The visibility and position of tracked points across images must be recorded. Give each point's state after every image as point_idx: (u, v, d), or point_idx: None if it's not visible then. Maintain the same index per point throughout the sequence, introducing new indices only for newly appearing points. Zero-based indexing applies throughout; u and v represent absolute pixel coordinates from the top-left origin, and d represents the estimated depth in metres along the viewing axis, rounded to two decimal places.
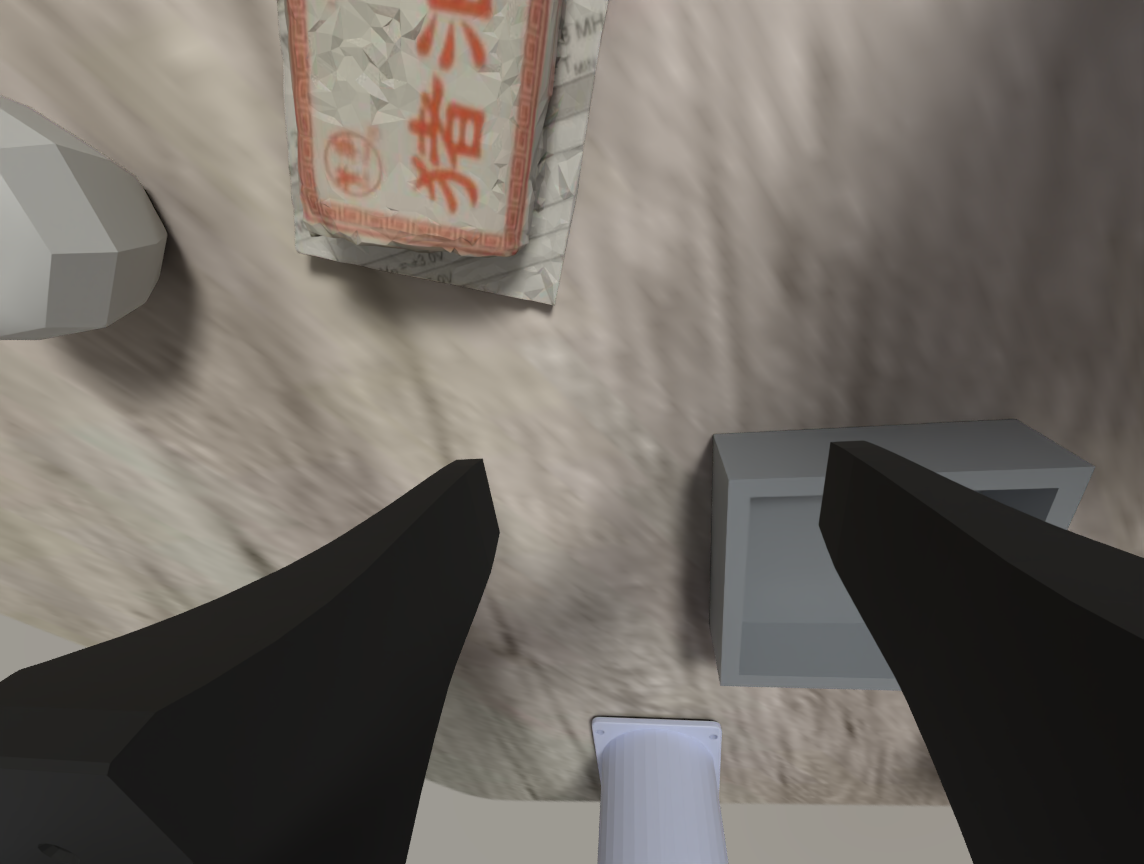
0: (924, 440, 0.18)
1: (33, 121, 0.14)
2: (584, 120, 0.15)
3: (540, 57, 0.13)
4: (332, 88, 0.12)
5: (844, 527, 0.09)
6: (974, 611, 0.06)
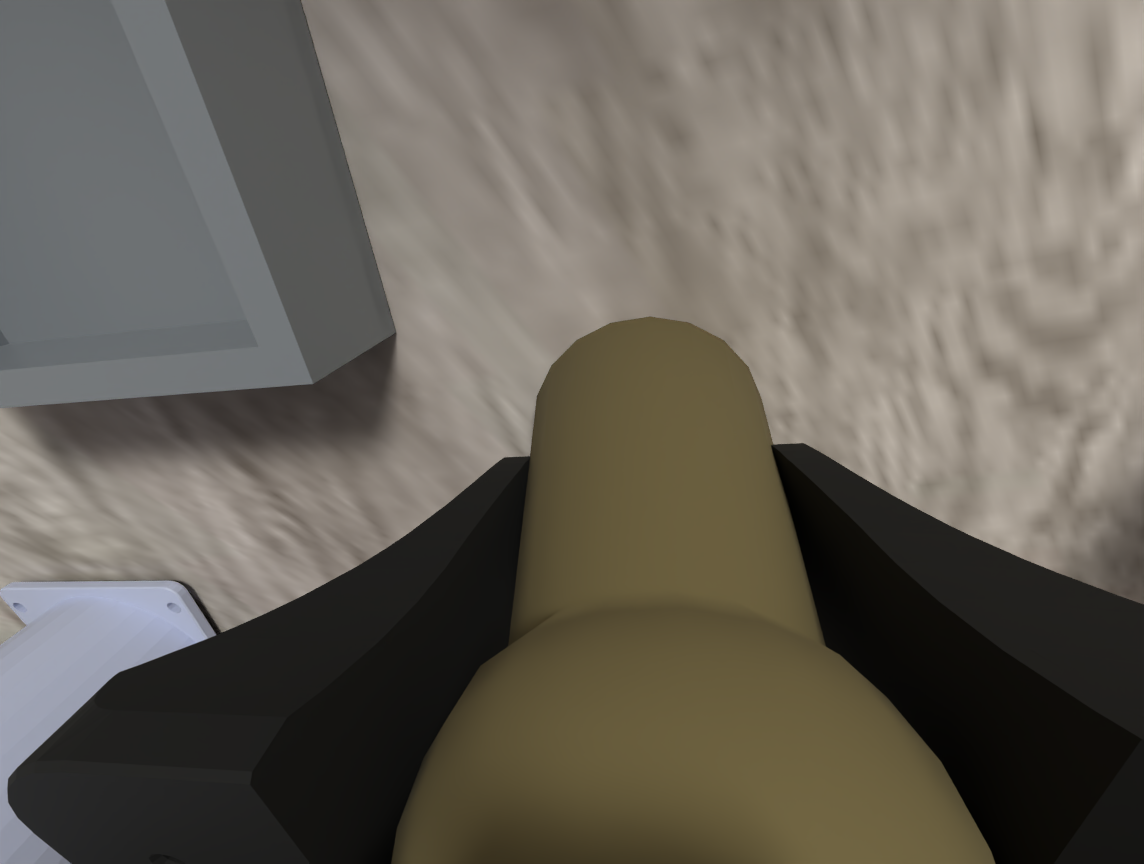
0: None
1: None
2: None
3: None
4: None
5: None
6: (874, 611, 0.06)
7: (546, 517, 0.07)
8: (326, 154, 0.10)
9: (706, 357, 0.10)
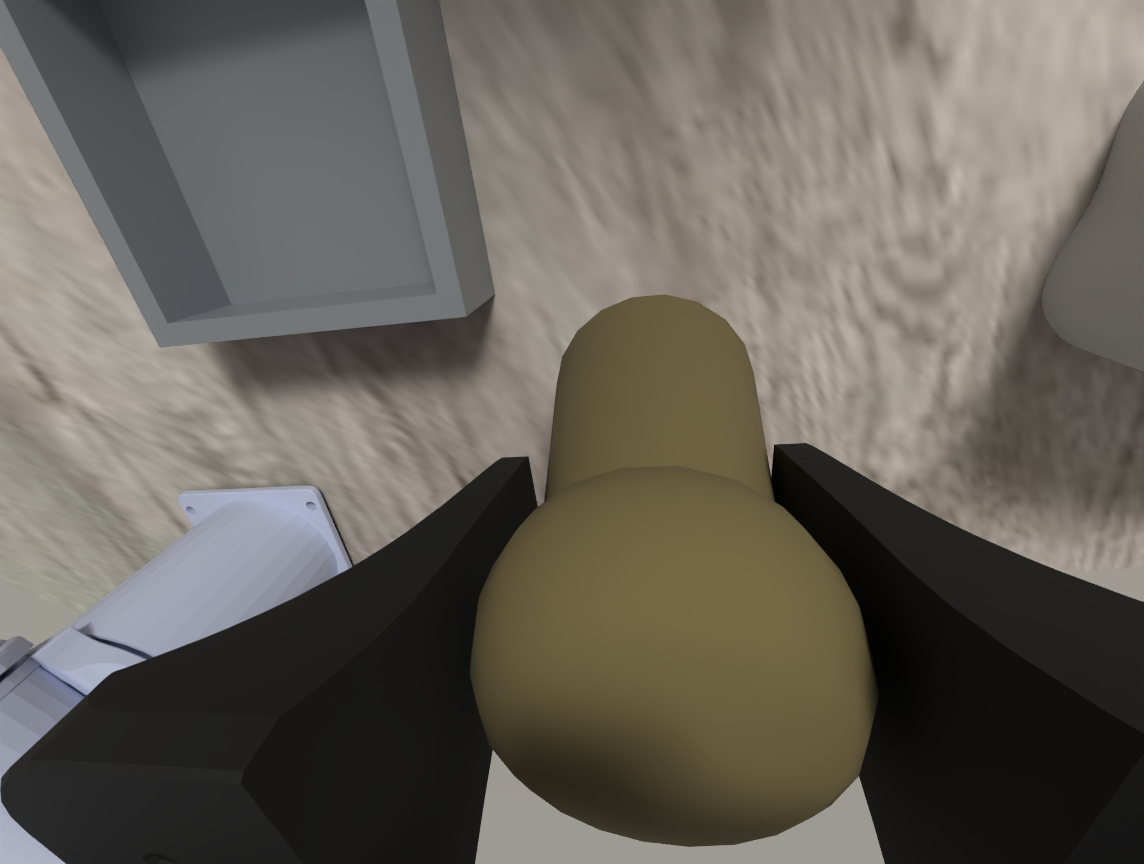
0: None
1: None
2: None
3: None
4: None
5: None
6: (879, 611, 0.06)
7: (577, 432, 0.09)
8: (466, 180, 0.16)
9: (709, 329, 0.12)
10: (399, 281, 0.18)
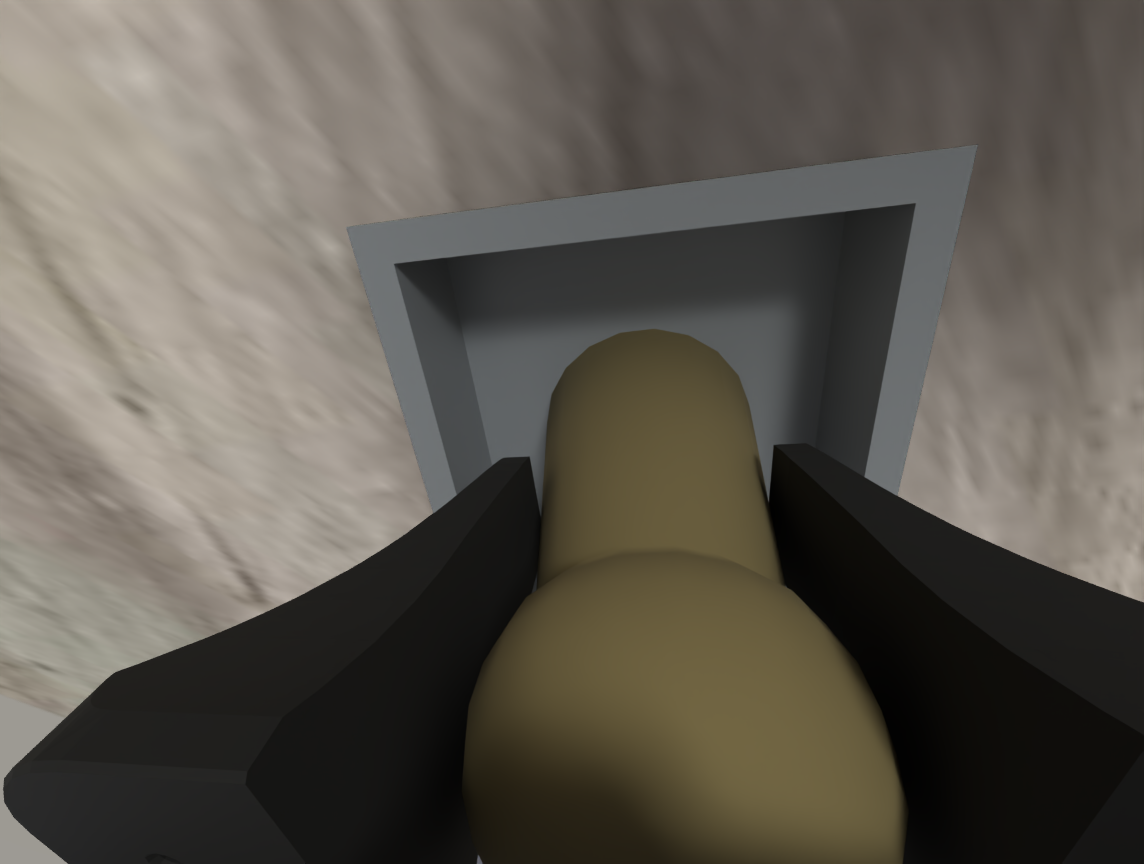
0: None
1: None
2: None
3: None
4: None
5: (784, 528, 0.09)
6: (878, 611, 0.06)
7: (569, 493, 0.09)
8: None
9: (702, 366, 0.12)
10: None
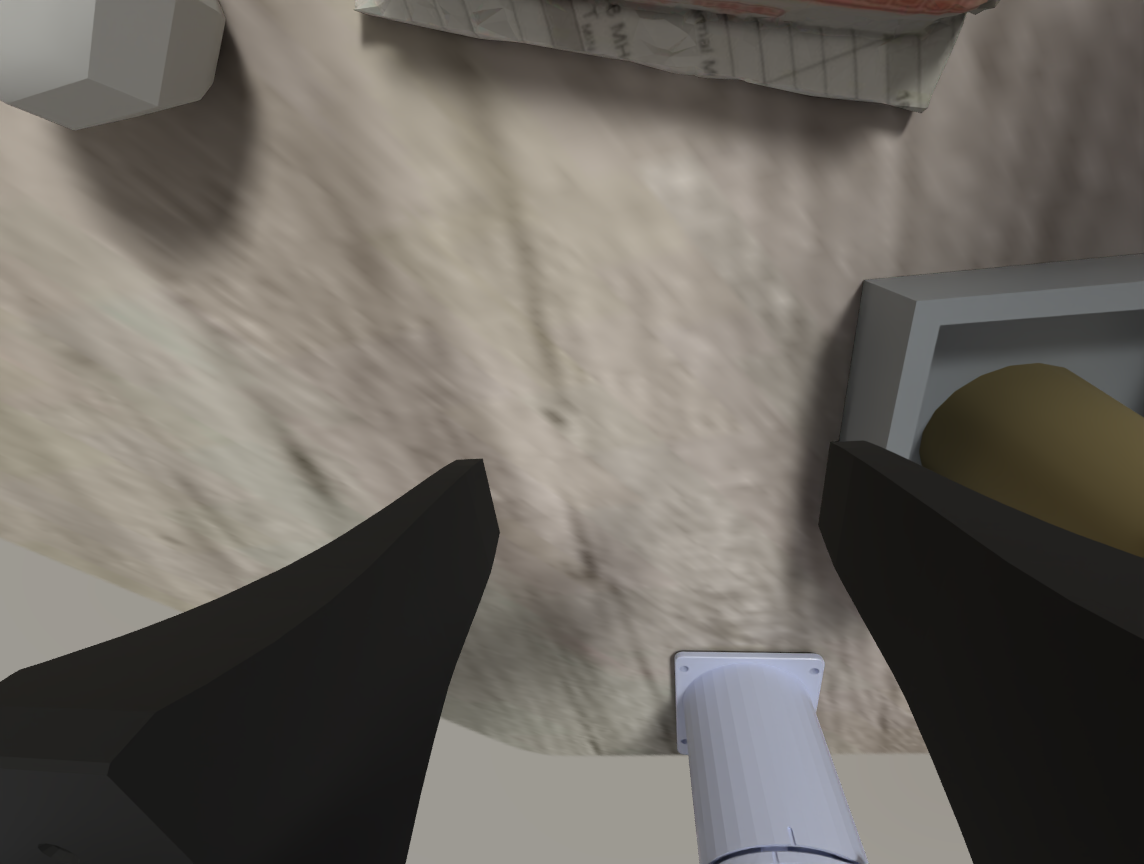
0: (1143, 262, 0.15)
1: None
2: (544, 41, 0.15)
3: None
4: None
5: (844, 527, 0.09)
6: (974, 611, 0.06)
7: (1113, 483, 0.13)
8: None
9: (1104, 393, 0.16)
10: None
